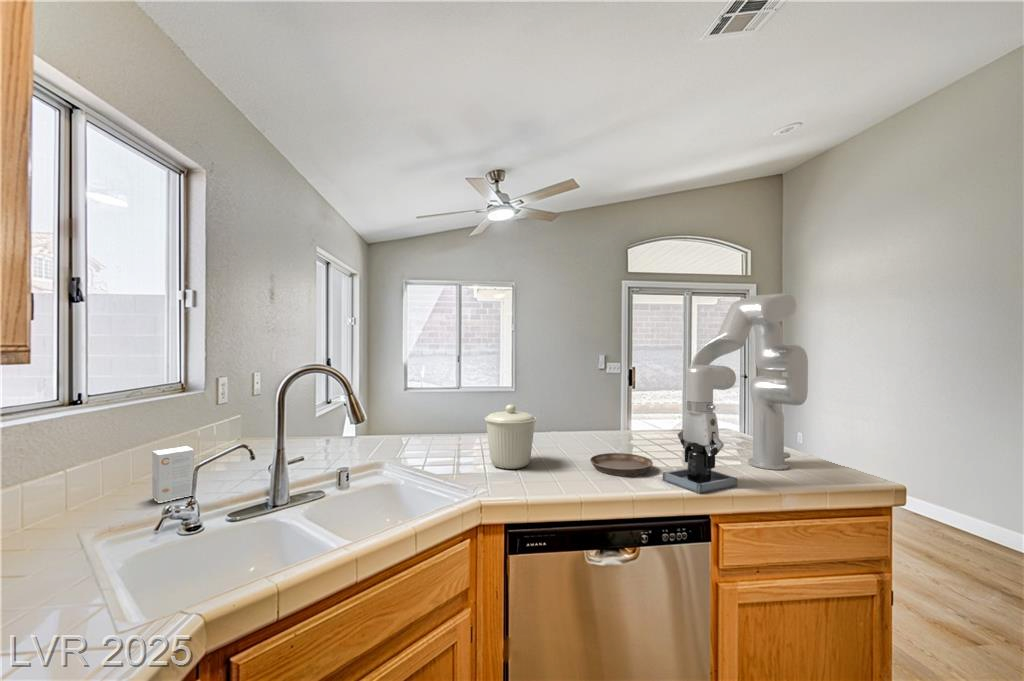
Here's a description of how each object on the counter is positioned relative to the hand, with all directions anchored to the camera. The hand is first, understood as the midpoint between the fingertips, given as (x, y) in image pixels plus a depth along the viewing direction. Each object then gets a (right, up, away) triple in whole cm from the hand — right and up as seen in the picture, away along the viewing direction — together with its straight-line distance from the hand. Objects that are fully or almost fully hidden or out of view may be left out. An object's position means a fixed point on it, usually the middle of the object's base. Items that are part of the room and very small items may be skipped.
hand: (699, 464), depth 139 cm
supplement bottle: (0, -5, 0) cm, 5 cm away
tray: (0, -6, 0) cm, 6 cm away
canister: (-58, -6, +19) cm, 61 cm away
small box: (-149, -5, -16) cm, 150 cm away
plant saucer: (-20, -6, +16) cm, 26 cm away
